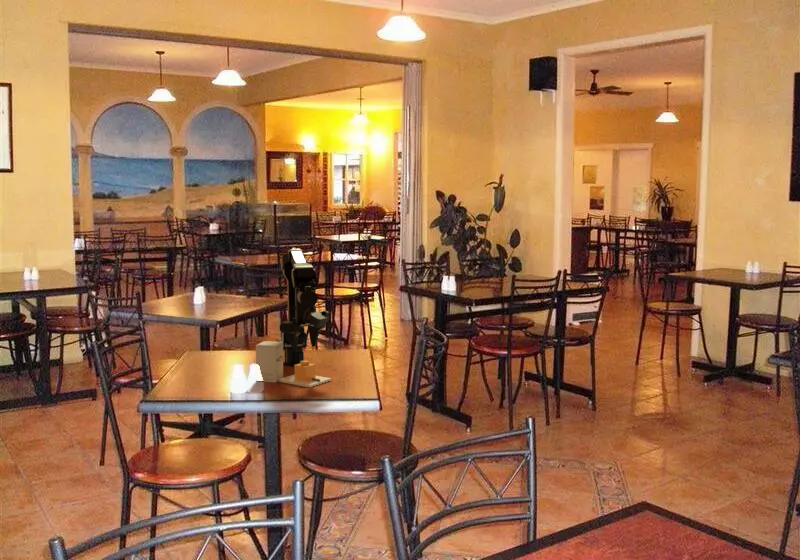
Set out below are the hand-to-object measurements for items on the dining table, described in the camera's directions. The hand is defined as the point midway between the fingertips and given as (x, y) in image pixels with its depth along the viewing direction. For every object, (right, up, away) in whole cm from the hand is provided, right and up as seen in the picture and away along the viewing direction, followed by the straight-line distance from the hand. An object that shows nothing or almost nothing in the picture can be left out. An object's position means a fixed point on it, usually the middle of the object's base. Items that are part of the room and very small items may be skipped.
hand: (304, 349), depth 277 cm
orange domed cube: (0, -10, +1) cm, 10 cm away
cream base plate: (0, -11, +2) cm, 11 cm away
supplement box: (-12, -11, +4) cm, 17 cm away
